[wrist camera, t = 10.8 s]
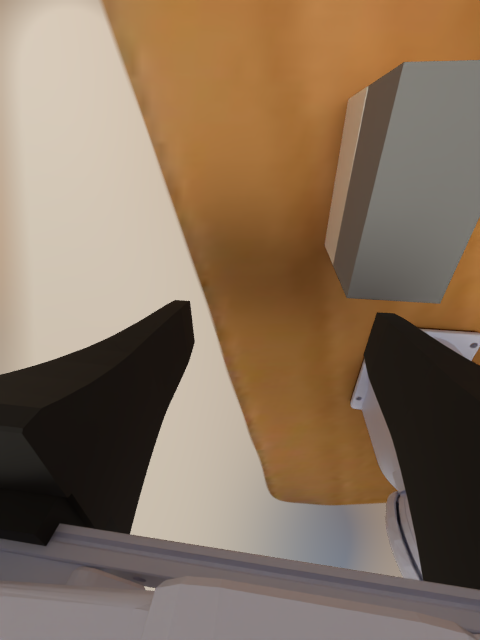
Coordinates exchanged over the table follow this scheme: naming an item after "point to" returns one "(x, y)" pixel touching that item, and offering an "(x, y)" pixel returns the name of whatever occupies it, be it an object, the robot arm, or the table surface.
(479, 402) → the robot arm
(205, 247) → the table surface
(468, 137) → the charcoal brick
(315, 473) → the table surface
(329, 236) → the off-white brick
